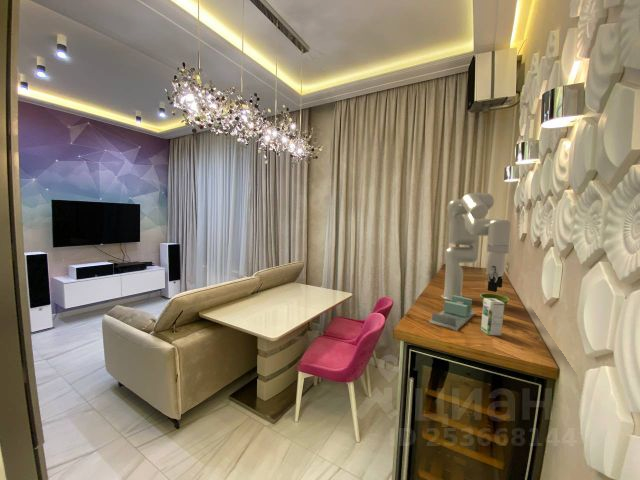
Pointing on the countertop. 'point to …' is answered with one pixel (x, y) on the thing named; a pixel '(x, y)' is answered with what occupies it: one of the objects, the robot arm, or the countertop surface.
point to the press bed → (459, 320)
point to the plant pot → (495, 296)
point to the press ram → (458, 305)
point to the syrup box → (492, 316)
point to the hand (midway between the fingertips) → (494, 289)
